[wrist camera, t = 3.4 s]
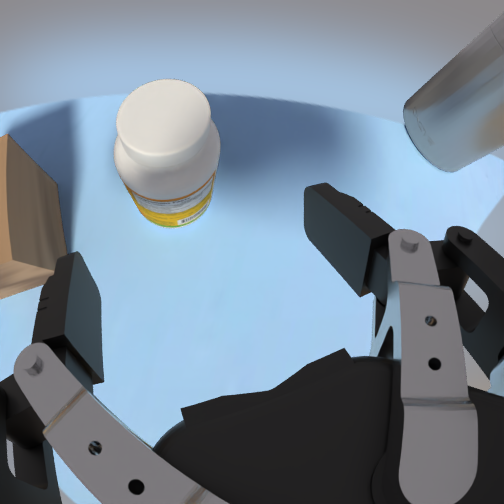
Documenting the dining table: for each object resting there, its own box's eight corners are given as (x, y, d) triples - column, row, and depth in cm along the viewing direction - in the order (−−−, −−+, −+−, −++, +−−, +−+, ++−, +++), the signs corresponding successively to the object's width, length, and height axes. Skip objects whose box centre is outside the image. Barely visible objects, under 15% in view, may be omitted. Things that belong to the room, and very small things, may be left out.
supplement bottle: (148, 151, 21) (127, 61, 11) (219, 166, 22) (240, 78, 12) (126, 221, 20) (79, 159, 10) (202, 238, 20) (210, 184, 11)
